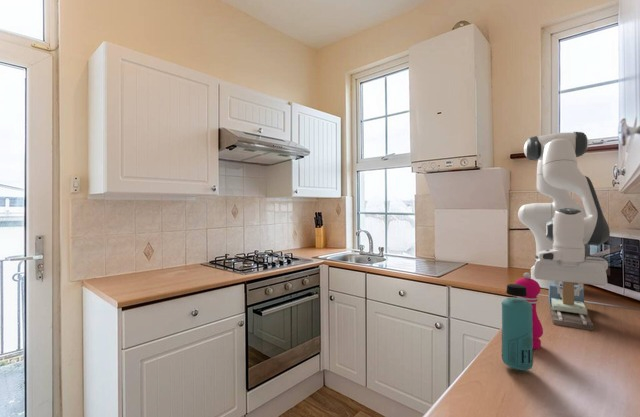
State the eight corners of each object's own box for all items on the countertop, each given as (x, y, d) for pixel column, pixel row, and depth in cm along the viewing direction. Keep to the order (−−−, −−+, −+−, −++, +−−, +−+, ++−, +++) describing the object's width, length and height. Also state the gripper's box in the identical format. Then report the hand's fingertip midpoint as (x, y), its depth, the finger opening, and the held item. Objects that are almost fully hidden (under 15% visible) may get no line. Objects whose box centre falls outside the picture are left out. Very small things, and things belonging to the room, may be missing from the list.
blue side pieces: (548, 302, 125) (548, 282, 124) (581, 307, 119) (581, 285, 119) (549, 307, 119) (549, 285, 119) (584, 311, 114) (584, 289, 114)
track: (549, 306, 120) (549, 301, 120) (583, 311, 114) (583, 305, 114) (553, 324, 103) (553, 317, 103) (593, 330, 97) (593, 323, 97)
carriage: (551, 302, 118) (551, 276, 118) (582, 306, 113) (582, 279, 113) (553, 309, 110) (553, 282, 109) (587, 314, 105) (587, 285, 105)
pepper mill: (533, 339, 91) (533, 270, 91) (549, 350, 84) (549, 275, 84) (507, 338, 92) (507, 269, 92) (520, 349, 85) (520, 275, 85)
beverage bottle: (522, 379, 71) (522, 290, 70) (494, 366, 77) (494, 283, 76) (540, 372, 74) (540, 286, 73) (512, 360, 80) (512, 280, 79)
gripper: (605, 256, 108) (605, 296, 108) (533, 251, 119) (533, 288, 119) (610, 259, 103) (609, 301, 103) (533, 254, 114) (533, 292, 114)
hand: (568, 294), depth 111 cm, fingers closed on carriage, 3 cm apart
